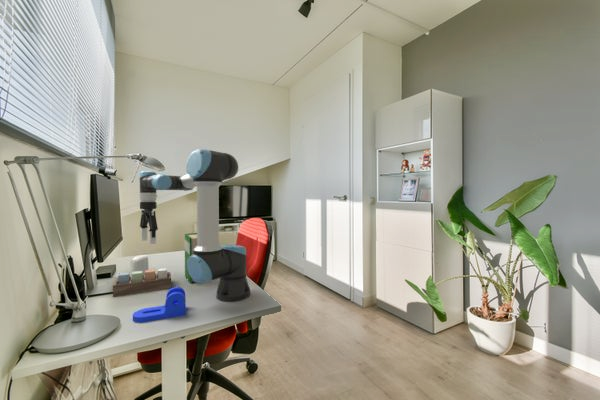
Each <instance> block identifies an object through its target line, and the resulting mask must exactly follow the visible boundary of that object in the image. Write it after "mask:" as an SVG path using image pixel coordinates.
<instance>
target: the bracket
mask: <svg viewBox="0 0 600 400" xmlns="http://www.w3.org/2000/svg"><path fill="white" fill-rule="evenodd" d="M186 301H187V300H186V291H185V289H184V288H183V287H181V286H175V287H174V286H173V287H171V288H169V289H168V291H167V293H166V299H165V303H164V305H157V306H152V307H146V308H142V309H139V310H136V311H134V312H133V313H132V322H134V323H146V322H153V321H159V320H164V319H171V318H176V317H182V316H186V315H187V313H186V311H187V310H186V309H187V307H186V305H187V304H186Z"/></svg>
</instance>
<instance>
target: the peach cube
mask: <svg viewBox="0 0 600 400" xmlns="http://www.w3.org/2000/svg"><path fill="white" fill-rule="evenodd" d="M155 274H156V269H148V270H146V271H145V281H147V280H154V279H155Z"/></svg>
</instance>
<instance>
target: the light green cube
mask: <svg viewBox="0 0 600 400" xmlns="http://www.w3.org/2000/svg"><path fill="white" fill-rule="evenodd" d="M142 280H143V271H136V272H133V273H132V282H139V281H142Z"/></svg>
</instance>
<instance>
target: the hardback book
mask: <svg viewBox="0 0 600 400" xmlns="http://www.w3.org/2000/svg"><path fill="white" fill-rule="evenodd" d="M196 246H197V232H195V233H194V232H191V233H190V232H189V233H184V276H185V277H187V278H186V279H188V280H187V281H188V283H189V284H190V285H191V284H193V282H195V281H194V280H193V279H192V278H191V276H190V275H189V273H188V270H187V260H188V258H189V257H190V256H192V255H193V249H194V248H195V247H196Z"/></svg>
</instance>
